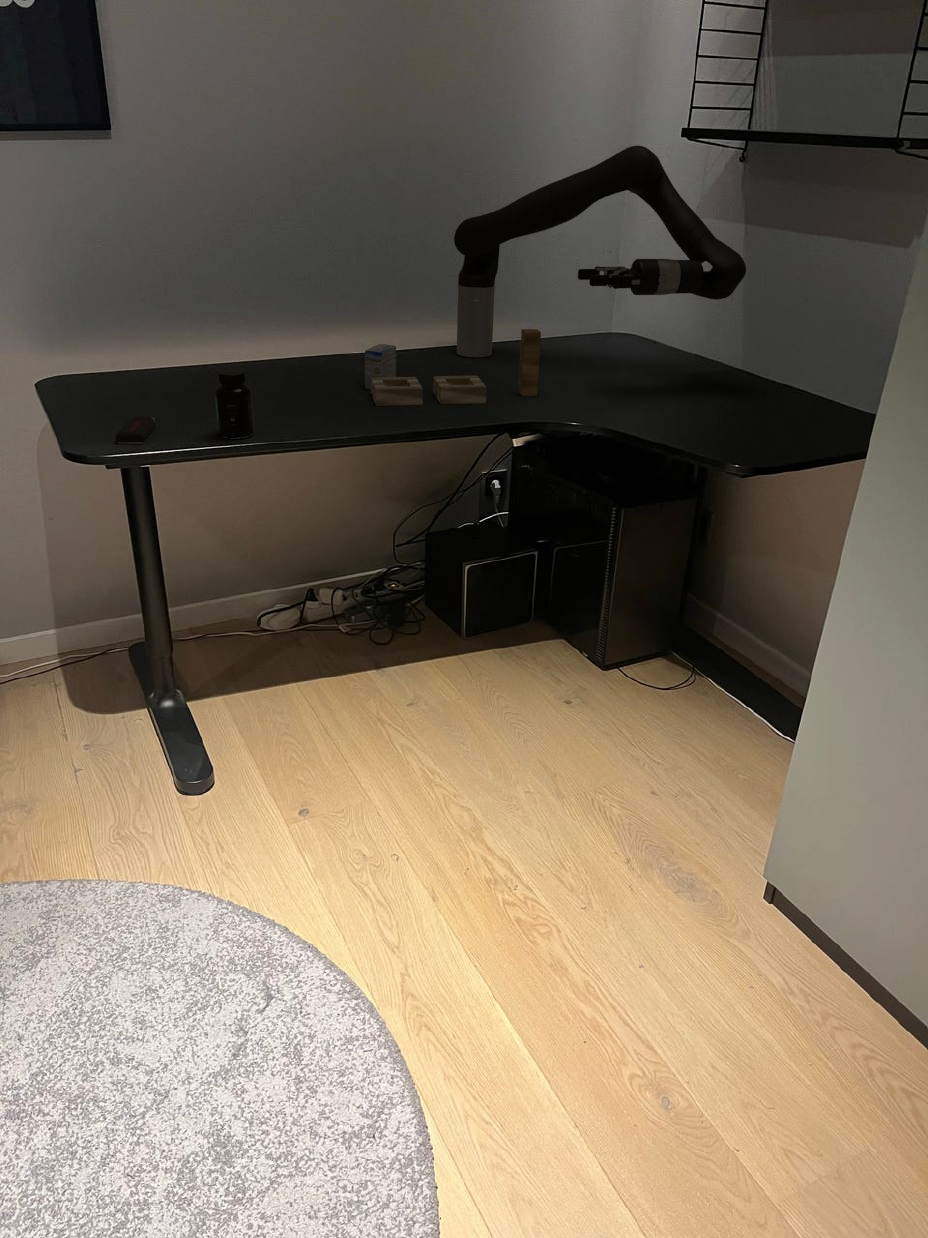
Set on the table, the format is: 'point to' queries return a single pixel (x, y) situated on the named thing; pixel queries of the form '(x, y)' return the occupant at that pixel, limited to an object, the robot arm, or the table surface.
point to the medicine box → (380, 363)
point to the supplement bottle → (234, 405)
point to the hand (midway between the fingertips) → (584, 277)
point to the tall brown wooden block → (529, 362)
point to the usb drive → (136, 430)
